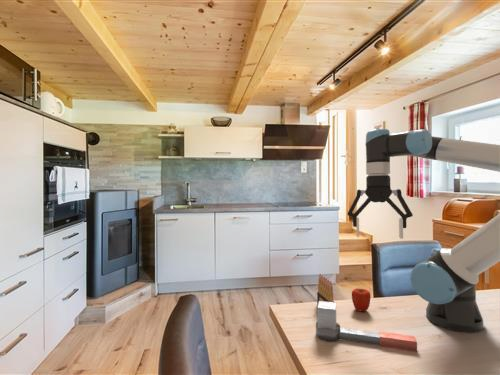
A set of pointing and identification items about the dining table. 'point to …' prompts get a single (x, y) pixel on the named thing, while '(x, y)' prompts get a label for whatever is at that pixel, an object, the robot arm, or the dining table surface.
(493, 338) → the dining table surface
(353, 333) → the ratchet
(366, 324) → the dining table surface
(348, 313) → the dining table surface
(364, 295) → the apple
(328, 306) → the brushed steel cube
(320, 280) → the ammunition clip
